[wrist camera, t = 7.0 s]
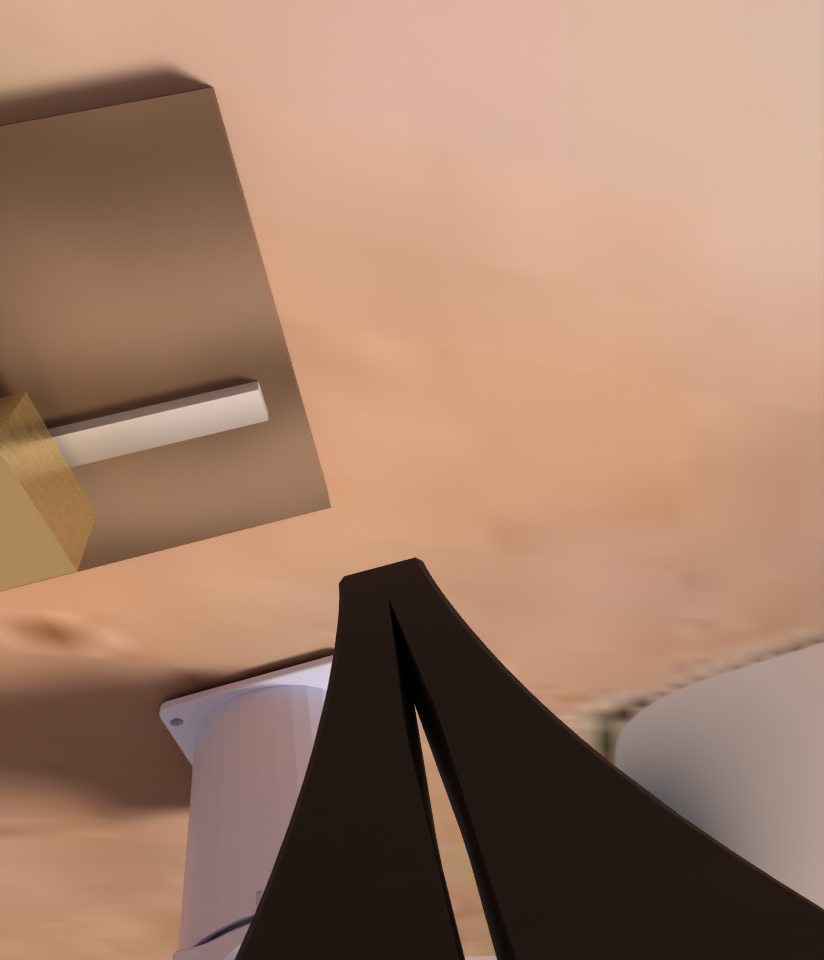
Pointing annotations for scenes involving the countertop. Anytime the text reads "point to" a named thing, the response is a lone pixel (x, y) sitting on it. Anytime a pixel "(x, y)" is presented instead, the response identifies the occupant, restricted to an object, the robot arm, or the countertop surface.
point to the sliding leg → (37, 500)
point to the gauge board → (149, 325)
